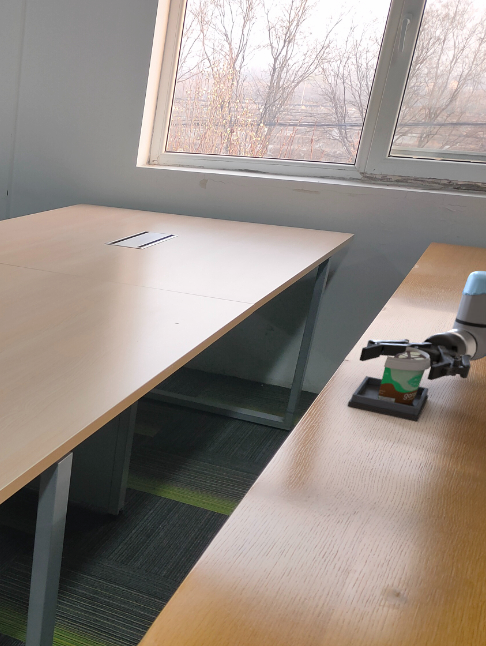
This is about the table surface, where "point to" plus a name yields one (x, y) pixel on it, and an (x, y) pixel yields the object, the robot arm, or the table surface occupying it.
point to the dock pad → (369, 401)
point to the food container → (403, 376)
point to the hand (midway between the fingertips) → (395, 363)
